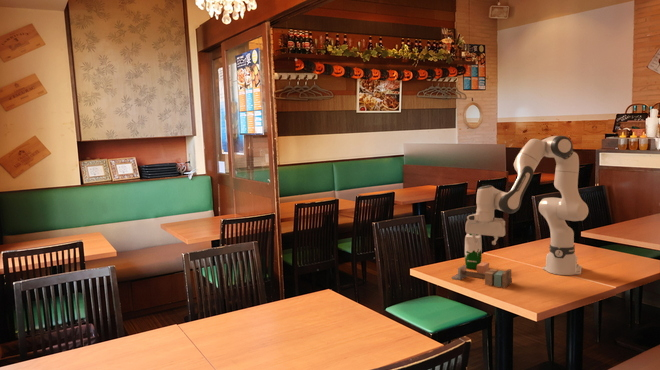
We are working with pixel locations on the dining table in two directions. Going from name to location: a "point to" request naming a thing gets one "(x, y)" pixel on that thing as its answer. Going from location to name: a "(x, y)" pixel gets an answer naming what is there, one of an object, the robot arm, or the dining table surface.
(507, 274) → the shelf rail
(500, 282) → the teal rectangular block
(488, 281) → the brown block
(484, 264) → the salmon pink block
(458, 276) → the bookend
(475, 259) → the milk carton
